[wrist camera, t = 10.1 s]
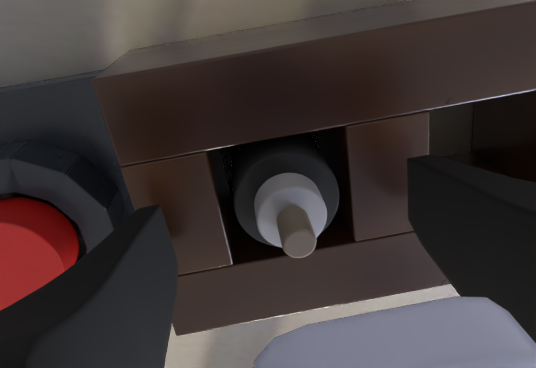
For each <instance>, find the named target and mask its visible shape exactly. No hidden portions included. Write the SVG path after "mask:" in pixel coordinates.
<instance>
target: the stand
mask: <svg viewBox="0 0 536 368" xmlns="http://www.w3.org/2000/svg"><path fill="white" fill-rule="evenodd" d="M92 84H93V87H94V90H95V93H96V96H97V99H98V102H99V105H100V108H101V111H102V114H103V117H104V120H105V123H106V126H107V129H108V132H109V135H110V138H111V141H112V144H113V147H114V150H115V153H116V156H117V159H118V162H119V164H120V166H121V172H122V175H123V178H124V181H125V184H126V187H127V190H128V192H129V195H130V198H131V201H132V204H133V207H134V210H135V211H136V210H137V209H139V208H143V207H148V206H153V205H159V204H161V208H162V211H163V214H164V217H165V221H166V224H167V227H168V231H169V234H170V237H171V241H172V244H173V247H174V250H175V254H176V257H177V260H178V288H177V297H176V303H175V308H174V314H173V320H172V324H173V327H174V330H175V333H176V335H177V336H180V335H185V334H190V333H195V332H201V331H206V330H211V329H216V328H222V327H227V326H232V325H237V324H243V323H248V322H253V321H258V320H264V319H269V318H274V317H279V316H285V315H290V314H295V313H300V312H305V311H311V310H316V309H321V308H326V307H332V306H337V305H342V304H347V303H353V302H358V301H363V300H368V299H374V298H379V297H384V296H389V295H394V294H400V293H405V292H410V291H415V290H421V289H426V288H431V287H436V286H442V285H447V284H451V283H450V282H449V281H448V279H447V278H446V277H445V275H444V274H443V273H442V271H441V270H440V269H439V268H438V266H437V265H436V264H435V262H434V261H433V260H432V258H431V257H430V256H429V254H428V253H427V252H426V250H425V249H424V247H423V246H422V244H421V243H420V241H419V239H418V237H417V235H416V234H415V232H414V230H413V228H412V226H411V224H410V222H409V220H408V185H407V159H408V158H413V157H418V156H424V155H429V144H430V113H429V111H428V110H432V109H438V108H443V107H449V106H454V105H460V104H465V103H470V102H474V118H473V138H472V151H473V152H468V153H463V154H457V155H452V156H447V157H442V158H446V159H449V160H453V161H456V162H460V163H463V164H466V165H470V166H473V167H476V168H480V169H483V170H486V171H490V172H494V173H497V174H501V175H505V176H509V177H513V178H517V179H521V180H525V181H530V182H535V183H536V0H410V1H405V2H399V3H393V4H388V5H382V6H377V7H371V8H365V9H360V10H354V11H348V12H343V13H337V14H332V15H326V16H320V17H315V18H309V19H303V20H298V21H292V22H287V23H281V24H275V25H270V26H264V27H258V28H253V29H247V30H242V31H236V32H230V33H225V34H219V35H213V36H208V37H202V38H197V39H191V40H185V41H180V42H174V43H169V44H163V45H157V46H152V47H146V48H140V49H135V50H129V51H128V52H127V53H125V54H124V55H123V56H122V57H120V58H119V59H118V60H117V61H115V62H114V63H113V64H112V65H110V66H109V67H108V68H107V69H106V70H104V71H103V72H102V73H101V74H99V75H98V76H97V77H96V78H94V79H93V80H92ZM317 130H318V139H319V148H320V152H321V153H322V155H323V157H324V159H325V160H326V162H327V164H328V166H329V167H330V169H331V171H332V173H333V174H334V176H335V178H336V181H337V184H338V188H339V204H338V208H337V211H336V213H335V216H334V218H333V219H332V221H331V223H330V224H329V225H328V227H327V228H326V229H325V230H324V231H323V232H321V233H320V234H319V235H318V237H317V238H316V239H317V244H316V247H315V249H314V251H313V252H312V253H311V254H309V255H308V256H306V257H303V258H293V257H291V256H289V255H287V254H286V253H285V252H284V250H283V248H282V247H278V246H273V245H268V244H265V243H262V242H260V241H258V240H256V239H255V238H253V237H252V236H250V235H249V234H248V233H247V232H246V231H245V230H244V229H243V228H242V226H241V225H240V223H239V221H238V219H237V217H236V214H235V209H234V198H233V196H230V192H229V187H228V183H227V178H226V174H225V169H224V165H223V160H222V156H221V151H220V148H224V147H230V146H235V145H241V144H246V143H252V142H257V141H263V140H268V139H274V138H279V137H285V136H290V135H295V134H301V133H306V132H312V131H317Z"/></svg>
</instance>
